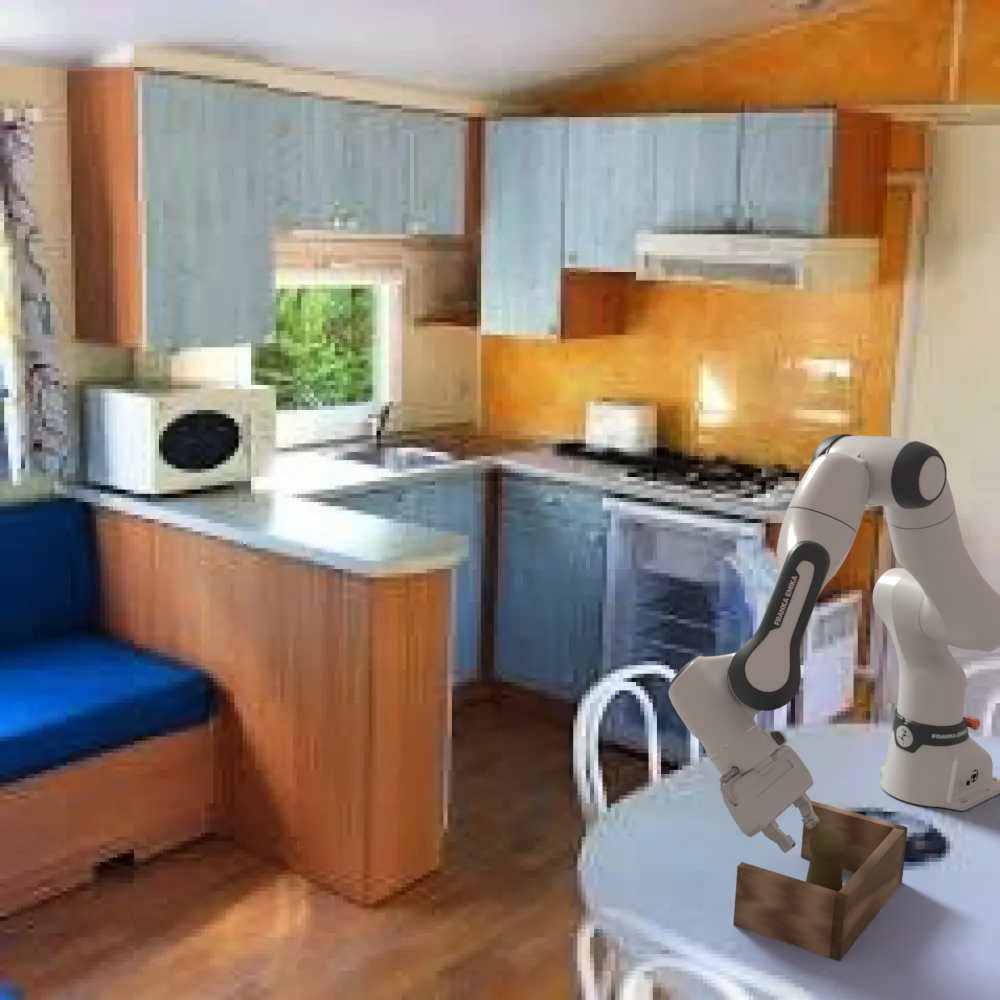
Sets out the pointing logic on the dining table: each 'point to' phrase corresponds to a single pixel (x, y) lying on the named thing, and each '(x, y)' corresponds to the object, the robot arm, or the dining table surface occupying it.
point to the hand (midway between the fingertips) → (802, 837)
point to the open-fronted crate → (817, 910)
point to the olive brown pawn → (826, 859)
